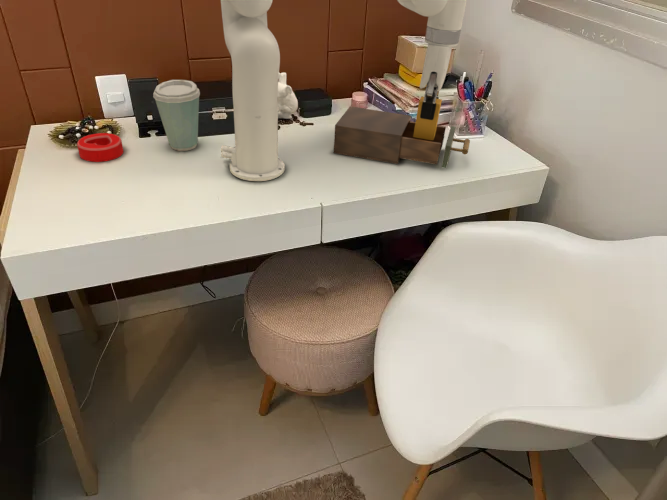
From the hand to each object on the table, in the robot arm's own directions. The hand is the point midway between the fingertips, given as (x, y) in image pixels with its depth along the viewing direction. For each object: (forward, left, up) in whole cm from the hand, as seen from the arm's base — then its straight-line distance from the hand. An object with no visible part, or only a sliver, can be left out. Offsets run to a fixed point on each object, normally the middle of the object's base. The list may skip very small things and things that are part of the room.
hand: (428, 114), depth 127 cm
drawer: (+1, 0, -10) cm, 10 cm away
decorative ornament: (-72, -29, -11) cm, 78 cm away
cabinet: (-13, 0, -11) cm, 17 cm away
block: (0, 0, -5) cm, 5 cm away
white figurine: (-41, +11, -11) cm, 44 cm away
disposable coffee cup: (-57, -18, -11) cm, 61 cm away
